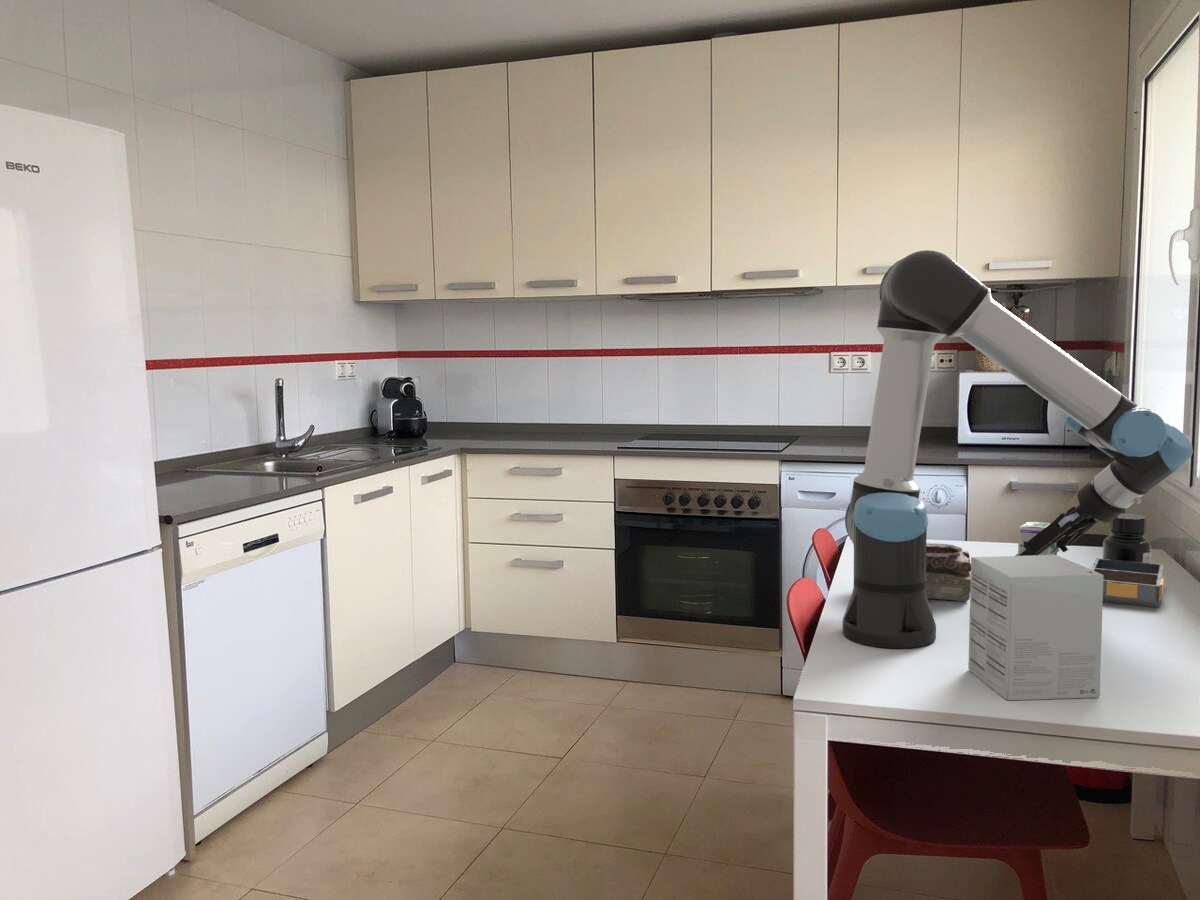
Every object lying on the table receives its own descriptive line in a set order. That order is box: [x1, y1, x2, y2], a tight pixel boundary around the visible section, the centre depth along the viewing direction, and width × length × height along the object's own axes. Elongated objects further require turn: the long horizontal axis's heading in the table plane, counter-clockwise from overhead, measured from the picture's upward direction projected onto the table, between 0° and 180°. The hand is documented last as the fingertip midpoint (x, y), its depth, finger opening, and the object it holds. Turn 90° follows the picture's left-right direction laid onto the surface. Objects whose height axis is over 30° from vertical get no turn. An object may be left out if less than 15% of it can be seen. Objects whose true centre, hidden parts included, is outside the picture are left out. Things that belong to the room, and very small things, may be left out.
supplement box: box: [967, 555, 1104, 701], centre depth 136 cm, size 13×13×18 cm
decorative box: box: [926, 542, 971, 602], centre depth 183 cm, size 13×20×10 cm, turn 65°
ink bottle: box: [1102, 512, 1152, 563], centre depth 200 cm, size 10×9×12 cm
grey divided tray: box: [1090, 557, 1165, 608], centre depth 185 cm, size 20×12×4 cm, turn 148°
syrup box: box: [1017, 521, 1058, 556], centre depth 180 cm, size 6×6×14 cm
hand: (1019, 567), depth 183 cm, fingers open, 7 cm apart
